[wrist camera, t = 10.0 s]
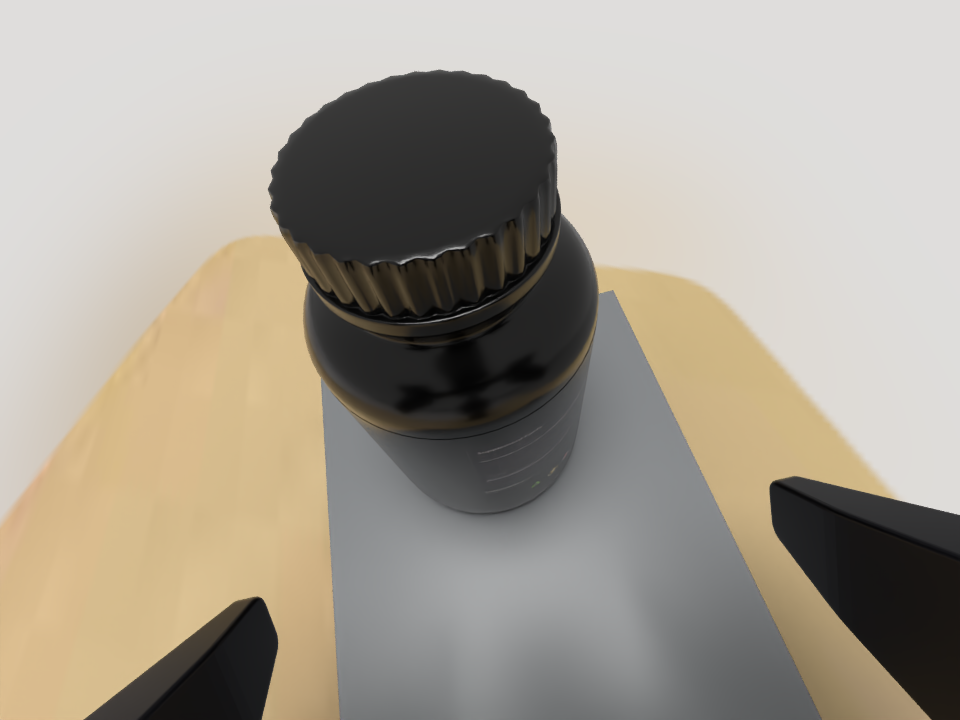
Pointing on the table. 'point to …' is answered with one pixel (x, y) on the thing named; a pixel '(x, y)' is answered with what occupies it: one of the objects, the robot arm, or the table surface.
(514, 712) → the riser block
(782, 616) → the table surface
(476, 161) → the supplement bottle
